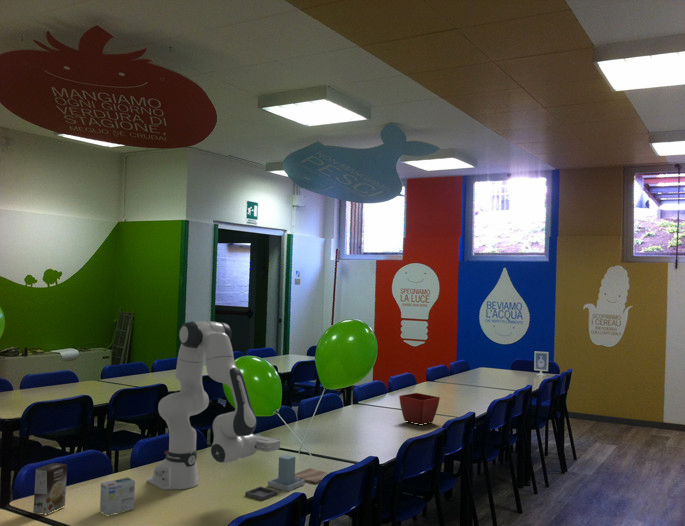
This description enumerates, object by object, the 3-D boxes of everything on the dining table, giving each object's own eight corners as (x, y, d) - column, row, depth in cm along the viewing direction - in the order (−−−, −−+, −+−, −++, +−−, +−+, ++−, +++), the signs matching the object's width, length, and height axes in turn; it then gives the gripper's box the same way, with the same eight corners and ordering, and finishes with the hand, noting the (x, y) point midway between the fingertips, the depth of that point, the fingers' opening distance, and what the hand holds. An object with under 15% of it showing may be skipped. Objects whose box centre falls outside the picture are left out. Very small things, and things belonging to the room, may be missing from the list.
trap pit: (245, 495, 247) (245, 492, 247) (260, 490, 254) (260, 486, 254) (262, 500, 242) (262, 496, 242) (276, 494, 249) (277, 490, 249)
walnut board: (290, 477, 272) (290, 475, 272) (309, 470, 283) (309, 468, 283) (315, 484, 264) (315, 481, 264) (334, 476, 275) (334, 474, 275)
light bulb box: (126, 505, 233) (127, 476, 233) (134, 510, 228) (136, 480, 229) (98, 511, 226) (100, 482, 226) (106, 517, 221) (107, 486, 221)
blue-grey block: (277, 485, 261) (278, 457, 261) (285, 482, 265) (286, 454, 265) (287, 488, 258) (288, 459, 258) (294, 485, 262) (295, 456, 263)
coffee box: (47, 516, 220) (49, 470, 220) (32, 513, 222) (34, 468, 222) (65, 507, 229) (67, 464, 229) (51, 505, 230) (53, 462, 231)
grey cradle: (267, 485, 260) (268, 481, 260) (284, 479, 269) (284, 474, 269) (288, 491, 254) (288, 486, 254) (304, 484, 263) (304, 479, 263)
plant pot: (439, 423, 391) (440, 396, 392) (422, 427, 377) (422, 400, 378) (415, 418, 404) (416, 392, 405) (397, 422, 390) (398, 395, 391)
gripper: (266, 441, 235) (289, 434, 247) (228, 432, 247) (251, 426, 258) (266, 457, 235) (289, 450, 246) (227, 448, 246) (250, 442, 258)
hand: (269, 438), depth 252 cm, fingers open, 8 cm apart
